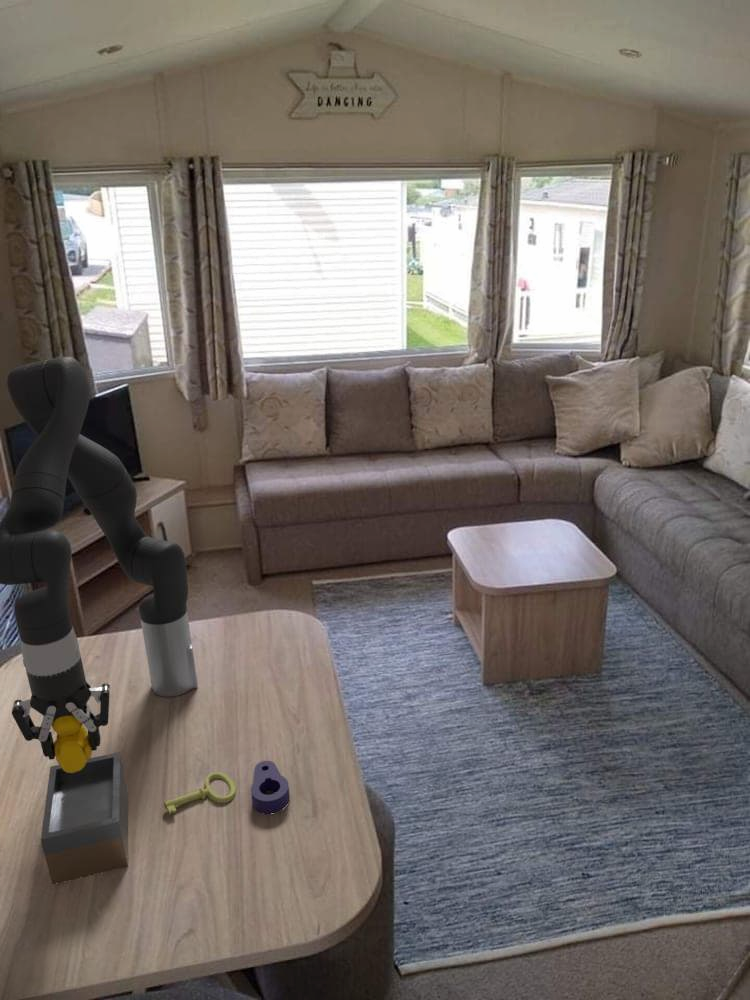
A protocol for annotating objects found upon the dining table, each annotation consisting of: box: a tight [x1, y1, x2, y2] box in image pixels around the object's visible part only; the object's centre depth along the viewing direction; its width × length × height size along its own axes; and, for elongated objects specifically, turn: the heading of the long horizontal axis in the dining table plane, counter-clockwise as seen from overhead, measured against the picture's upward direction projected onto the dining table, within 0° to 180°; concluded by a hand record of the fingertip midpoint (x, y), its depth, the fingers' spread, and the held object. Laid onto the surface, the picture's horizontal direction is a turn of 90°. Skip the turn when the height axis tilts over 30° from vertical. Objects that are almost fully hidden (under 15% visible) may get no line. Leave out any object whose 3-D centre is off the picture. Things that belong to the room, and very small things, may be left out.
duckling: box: [51, 716, 93, 773], centre depth 117 cm, size 11×5×10 cm, turn 21°
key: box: [163, 771, 237, 815], centre depth 131 cm, size 7×12×2 cm, turn 139°
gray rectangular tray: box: [40, 751, 129, 886], centre depth 122 cm, size 11×16×9 cm
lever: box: [250, 760, 291, 815], centre depth 132 cm, size 12×6×3 cm, turn 15°
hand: (73, 751), depth 118 cm, fingers closed on duckling, 5 cm apart
